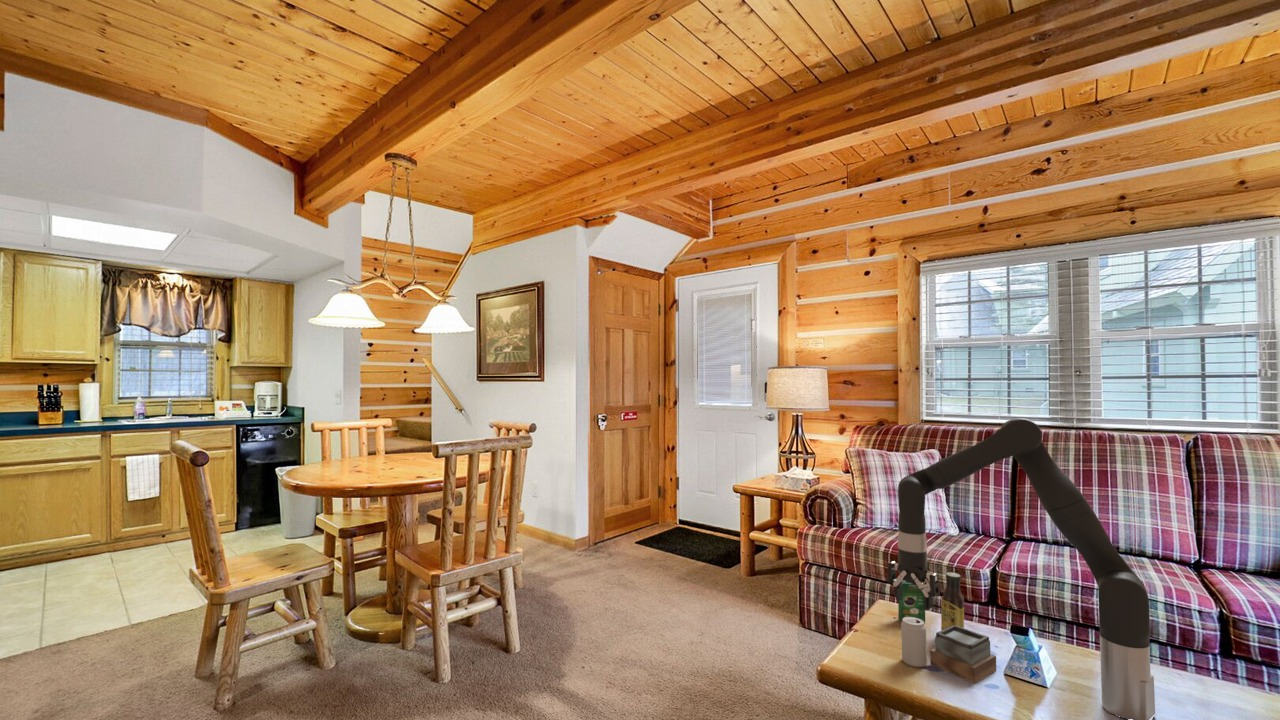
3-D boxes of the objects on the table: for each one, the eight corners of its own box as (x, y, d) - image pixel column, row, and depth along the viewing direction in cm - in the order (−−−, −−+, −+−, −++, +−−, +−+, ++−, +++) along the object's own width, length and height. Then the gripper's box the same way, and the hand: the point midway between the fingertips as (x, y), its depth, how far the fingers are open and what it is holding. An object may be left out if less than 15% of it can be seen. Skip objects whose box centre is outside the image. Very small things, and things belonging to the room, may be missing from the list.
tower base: (996, 670, 156) (995, 637, 156) (974, 683, 150) (973, 649, 150) (952, 653, 166) (951, 622, 166) (930, 664, 160) (929, 632, 160)
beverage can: (929, 669, 157) (928, 626, 157) (905, 667, 158) (904, 624, 158) (923, 658, 163) (922, 616, 163) (899, 656, 164) (898, 615, 165)
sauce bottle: (936, 635, 178) (935, 571, 179) (952, 632, 180) (950, 569, 181) (953, 644, 172) (952, 578, 173) (969, 641, 174) (968, 576, 174)
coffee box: (922, 620, 189) (922, 580, 190) (926, 623, 186) (925, 583, 187) (898, 619, 190) (897, 579, 190) (901, 622, 187) (900, 583, 187)
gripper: (943, 551, 158) (944, 610, 157) (896, 539, 170) (897, 593, 169) (929, 556, 154) (930, 616, 153) (881, 543, 165) (882, 599, 165)
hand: (912, 604), depth 161 cm, fingers open, 8 cm apart
